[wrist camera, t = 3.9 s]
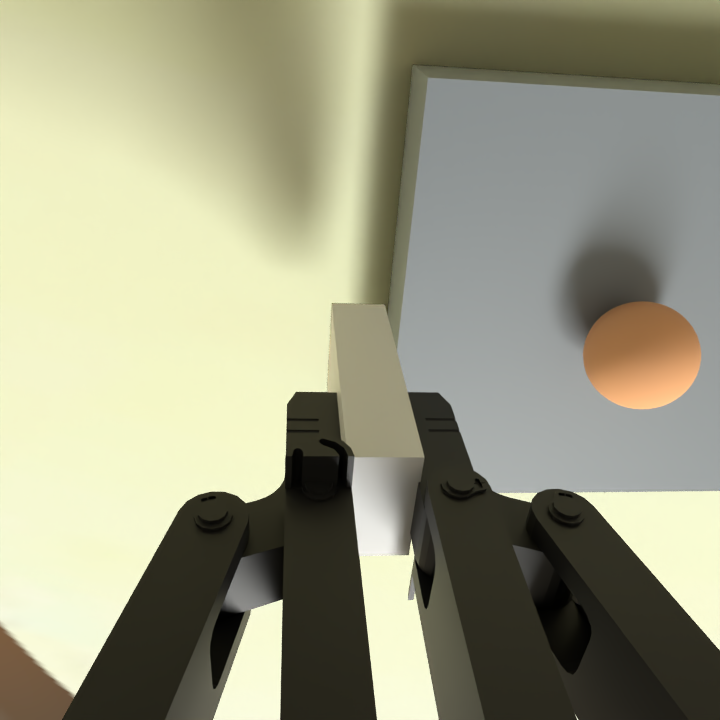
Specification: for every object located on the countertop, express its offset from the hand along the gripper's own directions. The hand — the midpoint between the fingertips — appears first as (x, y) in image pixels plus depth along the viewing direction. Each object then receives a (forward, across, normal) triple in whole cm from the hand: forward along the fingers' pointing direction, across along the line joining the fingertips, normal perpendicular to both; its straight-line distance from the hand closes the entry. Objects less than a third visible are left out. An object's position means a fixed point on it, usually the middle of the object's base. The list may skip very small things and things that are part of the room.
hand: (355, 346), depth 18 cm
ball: (0, +8, 0) cm, 9 cm away
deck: (+4, +16, 0) cm, 16 cm away
